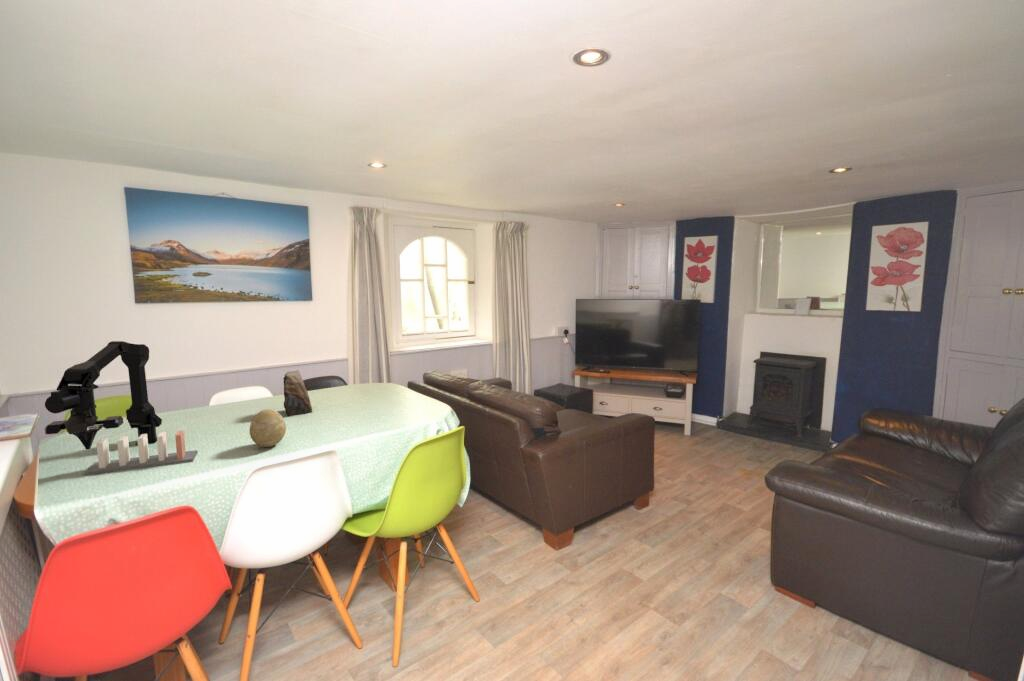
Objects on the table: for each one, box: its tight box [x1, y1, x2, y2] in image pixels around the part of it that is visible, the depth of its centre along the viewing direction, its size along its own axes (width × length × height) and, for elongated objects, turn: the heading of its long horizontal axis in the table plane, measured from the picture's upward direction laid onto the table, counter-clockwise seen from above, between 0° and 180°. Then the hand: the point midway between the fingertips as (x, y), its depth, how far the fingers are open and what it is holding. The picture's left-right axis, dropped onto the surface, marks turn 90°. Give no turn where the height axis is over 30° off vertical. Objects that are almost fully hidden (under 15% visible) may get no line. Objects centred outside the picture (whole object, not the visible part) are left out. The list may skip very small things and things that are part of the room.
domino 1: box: [95, 437, 111, 468], centre depth 157 cm, size 5×2×9 cm, turn 25°
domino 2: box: [116, 435, 131, 466], centre depth 159 cm, size 5×2×9 cm, turn 25°
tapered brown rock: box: [283, 370, 313, 417], centre depth 225 cm, size 13×13×20 cm
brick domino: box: [174, 430, 186, 460], centre depth 166 cm, size 5×2×9 cm, turn 25°
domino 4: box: [156, 431, 169, 461], centre depth 164 cm, size 5×2×9 cm, turn 25°
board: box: [83, 450, 199, 476], centre depth 162 cm, size 9×30×1 cm, turn 115°
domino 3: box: [136, 434, 150, 463], centre depth 162 cm, size 5×2×9 cm, turn 25°
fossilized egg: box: [249, 408, 287, 448], centre depth 180 cm, size 13×13×15 cm
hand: (88, 449), depth 155 cm, fingers closed
